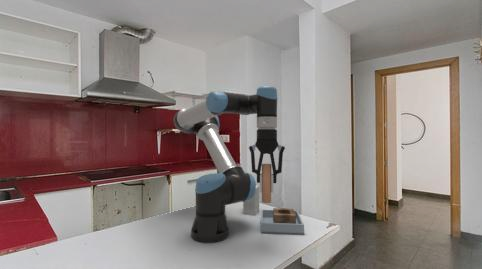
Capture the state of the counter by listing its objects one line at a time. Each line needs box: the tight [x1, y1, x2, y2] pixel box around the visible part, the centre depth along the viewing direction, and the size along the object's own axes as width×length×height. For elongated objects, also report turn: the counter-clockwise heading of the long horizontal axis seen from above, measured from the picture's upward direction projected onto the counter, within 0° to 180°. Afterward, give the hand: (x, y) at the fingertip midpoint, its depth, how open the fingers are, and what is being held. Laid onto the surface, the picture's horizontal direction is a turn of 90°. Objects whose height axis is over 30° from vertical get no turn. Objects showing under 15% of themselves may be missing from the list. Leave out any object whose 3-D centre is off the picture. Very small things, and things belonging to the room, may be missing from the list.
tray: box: [260, 209, 305, 236], centre depth 104 cm, size 17×17×4 cm
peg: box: [261, 163, 272, 204], centre depth 89 cm, size 4×4×14 cm
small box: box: [242, 184, 260, 216], centre depth 121 cm, size 8×6×13 cm
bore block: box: [272, 207, 296, 224], centre depth 104 cm, size 9×9×5 cm
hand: (266, 191), depth 89 cm, fingers closed on peg, 3 cm apart
